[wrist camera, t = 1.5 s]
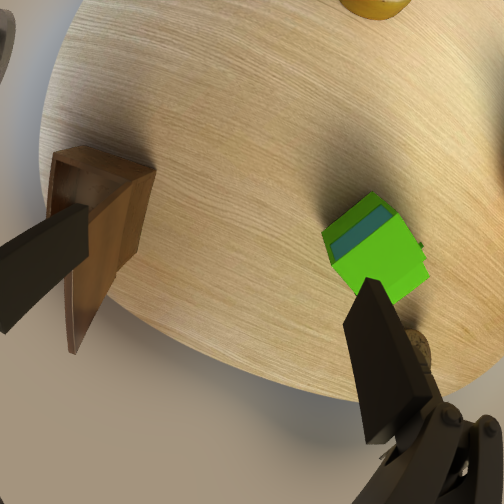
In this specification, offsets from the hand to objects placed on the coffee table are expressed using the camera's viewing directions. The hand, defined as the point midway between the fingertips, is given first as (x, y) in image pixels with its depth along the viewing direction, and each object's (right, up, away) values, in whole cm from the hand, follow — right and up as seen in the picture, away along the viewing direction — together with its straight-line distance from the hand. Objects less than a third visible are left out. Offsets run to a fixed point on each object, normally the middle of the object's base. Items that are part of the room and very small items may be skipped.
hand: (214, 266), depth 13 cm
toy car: (+18, +1, +24) cm, 30 cm away
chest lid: (-14, 0, +12) cm, 18 cm away
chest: (-19, +8, +25) cm, 32 cm away
